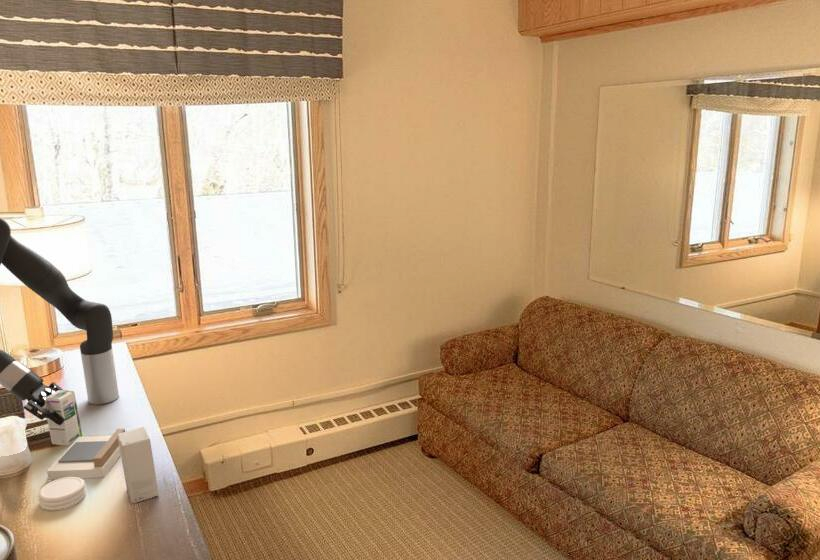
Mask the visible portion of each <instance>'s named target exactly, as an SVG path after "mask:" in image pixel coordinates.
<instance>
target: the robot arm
mask: <svg viewBox="0 0 820 560" xmlns="http://www.w3.org/2000/svg"><path fill="white" fill-rule="evenodd" d="M11 230H12V229H11V227H10V225H9V223H8V222H7V221H6V220H5V219H4V218H2V217H0V266H1V264H2V265H3V266H4V267H5V268H6V269H7V270H8V271H9V272H10V273H11V274H12V275H13V276H14V277H16V278H17V279H18V281H20V282H21V283H22V284H23V285H25V286H26V287H27V288H29V290H31V291H32V292H33V293H35V294H37V295H38V296H39V297H40V298H42V299H43V300H44V301H46V302H47V303H48V304H50V305H51V306H53V307H54V308H55V309H56V310H58V312H60V314H62V315H63V317H64V318H65V319H66V320H67V321H68V322H69V323H70V324H71V325H72V326H74V327H75V328H77V329H79V330H83V331H85V332H86V339H85V340H84V341H82V342H80V344H79V349H80V350H79V351H80V357H81V363H82V369H83V377H84V383H85V389H86V394H87V402H88V403H89V404H90V405H96V406H97V405H104V404H109V403H112V402H114V401H116V400H117V399H118V398H119V397H120V395H119V387H118V379H117V373H116V372H117V371H116V364H115V360H114V353H113V344H112V342H113V340H114V339H113V338H114V330H113V319H112V318H113V317H112V313H111V310H110V308H109V307H108V306H107V305H106V304H104V303H101V302H100V303H99V302H93V301H89V300H86V299H84V298H83V297H82V296H80V295H78V294H77V293H76V292H75V291H73V290H72V288H70V286H69V284H68V282H67V279H66V277H65V275H64V274H63V272H61V270H60V269H58V268H57V267H56V266H55V265H54V264H53V263H52V262H50V261H49V260H48V259H47V258H45V257H44V256H42V255H41V254H39V253H37V252H36V251H34V250H33V249H31V248H29V247H27V246H26V245H24V244H23V243H21V242H20V241H18V239H16V238H15V237H13V236H12V233H11V232H12V231H11ZM43 382H44V378H43V377H41V376H39V375H38V373H36V372H34V371H33V370H31V369H30V368H29V367H27V365H24V363H21V362H19V361H18V360H17V359H15V358H14V357H12V356H11V355H10V354H9V353H8V352H6V351H4V350H2V349H0V386H2V387H3V388H4V389H6V390H7V391H8V392H10V393H12V395H14V396H15V397H17V398H18V399H19V400H20V401H26V400H27V401H28V402H27V403H26V404H25V405H24V406H23V409H24V410H25V411H27V412H28V413H30V415H31V414H32V415H33V416H35V417H36V418H37V419H39V420H41V421H43V420H44V419H47V418H49V419H51V420H52V421H53V422H55V423H56V424H58V425H61V424H62V423H63V422H64V421H65V419H64V418H63V417H62V416H60V415H59V414H58V413H56V412H54V411H53V409H52V408H51V404H50V403H49V402H48V401H47V400H46V398H47V397H48V396H49V395H51V394H53V393H55V392H56V391H58V390H64V389H63V388H62V387H60V385H58V384H57V383H56V382H53V381H51V383H50V384H49V385H45V384H44V383H43ZM46 410H48V411H46ZM53 412H54V413H53Z"/></svg>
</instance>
